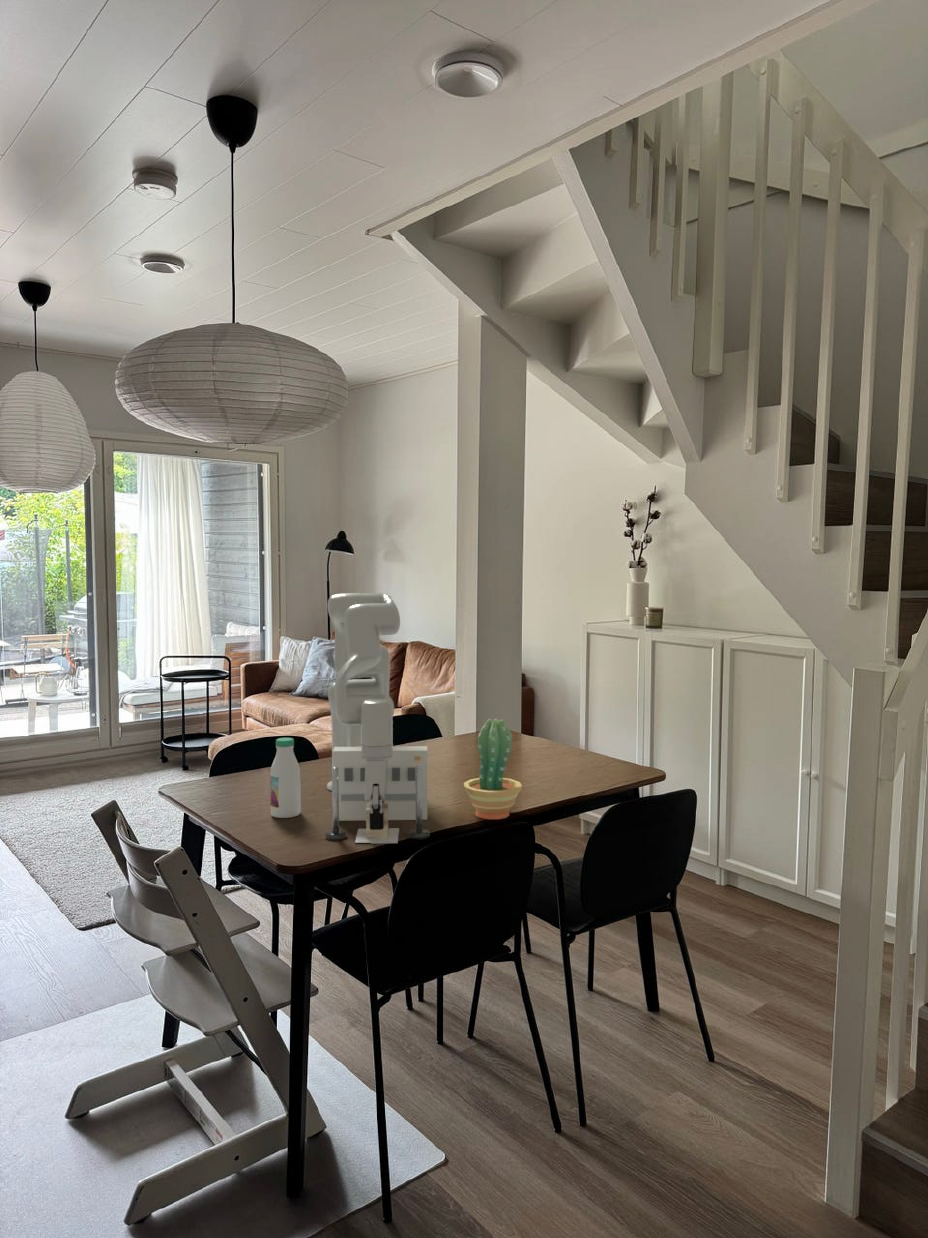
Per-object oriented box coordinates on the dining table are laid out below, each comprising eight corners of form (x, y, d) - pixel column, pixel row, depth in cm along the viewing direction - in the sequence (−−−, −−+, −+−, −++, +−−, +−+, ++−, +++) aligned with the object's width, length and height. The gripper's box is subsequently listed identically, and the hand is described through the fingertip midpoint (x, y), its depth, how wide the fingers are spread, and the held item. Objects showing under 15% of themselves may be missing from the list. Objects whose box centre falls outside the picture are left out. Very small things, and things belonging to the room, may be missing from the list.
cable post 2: (408, 833, 210) (408, 764, 209) (429, 832, 210) (429, 764, 209) (408, 839, 205) (408, 769, 204) (429, 839, 205) (429, 769, 204)
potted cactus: (533, 813, 226) (534, 719, 224) (496, 827, 214) (496, 728, 213) (488, 802, 236) (489, 712, 234) (450, 814, 225) (450, 720, 223)
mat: (358, 830, 212) (358, 828, 212) (399, 829, 212) (399, 828, 212) (355, 843, 202) (354, 842, 202) (397, 843, 202) (397, 841, 202)
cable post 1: (326, 834, 209) (325, 765, 208) (347, 833, 209) (346, 765, 208) (324, 840, 204) (323, 770, 203) (345, 840, 204) (344, 770, 203)
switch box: (335, 815, 225) (334, 746, 223) (427, 813, 226) (427, 746, 224) (333, 821, 219) (332, 752, 218) (427, 820, 220) (427, 751, 219)
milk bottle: (303, 810, 229) (302, 735, 228) (298, 818, 221) (297, 742, 220) (273, 810, 229) (272, 736, 227) (268, 819, 221) (266, 742, 220)
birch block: (367, 831, 209) (367, 803, 209) (388, 830, 210) (388, 802, 209) (366, 838, 205) (366, 810, 204) (387, 838, 205) (387, 809, 204)
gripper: (363, 743, 214) (364, 814, 215) (358, 759, 197) (358, 836, 198) (394, 743, 214) (394, 814, 216) (391, 759, 197) (391, 836, 199)
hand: (377, 824), depth 207 cm, fingers open, 6 cm apart
